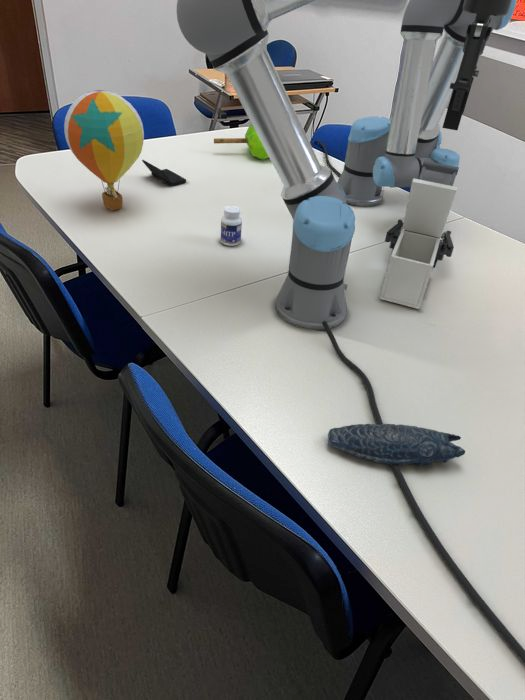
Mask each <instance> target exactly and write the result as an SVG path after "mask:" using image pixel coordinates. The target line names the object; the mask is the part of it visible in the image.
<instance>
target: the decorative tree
mask: <svg viewBox="0 0 525 700" xmlns="http://www.w3.org/2000/svg"><path fill="white" fill-rule="evenodd" d="M213 144H246V145H247V147H248V149H249V151H250V153H251V155H252V156H253V157H255V158H258V160H259V159H260V160H263V161H264V160H266V159H268V158H269V156H268V154H267V152H266V150H265V148H264V146H263V144H262V142H261V140H260V139H259V137H258V135H257V133H256V131H255V129H254V127H253V125H252V124H251V125H249V126H248V128H247V130H246V132H245V134H244V137H243V138H242V137H237V138H235V137H234V138H233V137H231V138H230V137H227V138H226V137H225V138H223V137H222V138H213ZM269 159H270V158H269Z"/></svg>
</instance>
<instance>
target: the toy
mask: <svg viewBox="0 0 525 700" xmlns="http://www.w3.org/2000/svg"><path fill="white" fill-rule="evenodd" d="M63 128H64V130H63V131H64V132H63V133H64V137H65V141H66V144H67V146H68V148H69V150H70V151H71V152H72V154H73V156H75V158H76V159H77V161H78V162H80V163H81V165H83V166H84V167H85V168H86V169H87V170H88V171H90V172H91V173H92V174H93V175H94V176H96V177H97V178H98V179H100V180H101V183H102V184H101V185H102V187H103V191H102V193H101V198H102V203H103V205H104V207H105V208H106V209H108V210H109V211H110V212H113V211H118V210H121V209H122V208H123V203H124V201H123V195H122V194H121V193H120V192H119V191H118V190H119V188H120V183H118V182H120V181H121V178H122V177H123V176H124V175H125V174H126V173H127V172H128V171H129V170H130V169H131V167H133V165H134V164H135V163H136V161H137V160H138V159H139V158H140V155H141V153H142V150H143V147H144V141H145V131H144V130H145V129H144V125H143V121H142V119H141V116H140V114H139V113H138V111H137V109H136V108H134V106H133V105H132V103H130V102H129V101H128V100H127V99H126V98H124V97H123V96H122V95H119V94H117V93H115V92H112V91H109V90H102V89H101V90H100V89H98V90H92V91H87V92H85V93H82V95H79V96H78V97H77V98H76V99H75V100H73V102H72V103H71V105H70V107H69V108H68V111H67V112H66V114H65V118H64V124H63ZM104 183H105V184H106V185H107V186H106V187H105V186H104ZM115 183H118V185H117V190H116V188H115Z"/></svg>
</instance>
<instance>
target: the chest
mask: <svg viewBox="0 0 525 700" xmlns="http://www.w3.org/2000/svg"><path fill="white" fill-rule="evenodd" d="M400 232H401V233H400V236H399V238H398V240H397V243H396V245H395V247H394V250H393V249H392V250H393V252H392V251H391V253H392V254H391V253H390V257H389V261H388V264H387V268H386V273H385V276H384V279H383V284H382V287H381V293H380V295H379V300H382V301H386V302H389V303H394V304H398V305H401V306H404V307H405V306H406V307H409V308H413V309H417V310H420V309H421V306H422V304H423V299H424V296H425V293H426V290H427V287H428V283H429V281H430V278H431V274H432V271H433V269H434V268H433V265H434V261H435V257H436V254H437V250H438V246H439V242H440V239H441V238H440V239H439V238H435V237H430V236H426V235H422V234H417V233H413V232H408V231H404V230H402V231H400Z"/></svg>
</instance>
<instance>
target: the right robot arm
mask: <svg viewBox="0 0 525 700" xmlns="http://www.w3.org/2000/svg"><path fill="white" fill-rule="evenodd" d="M517 1H518V0H512V2H511V5H510V8H509V11H508V13H507V14H506V15H505V16H493V15H491V16H490V17H491V19H490V20H491V21H490V23H489V25H488V27H492V30H491V33H490V36H489V38H490V37H491V35H492V33H493V31H494V30H495V31H500V30H502V29H503V28H505V27H506V26H507V25H508V24H509V23H510V21H511V19H512V17H513V15H514V12H515V9H516V6H517ZM463 4H464V0H408V2H407V5H406V7H405V10H404V13H403V16H402V20H401V26H400V35H401V37H402V39H403V41H402V47H401V53H400V60H399V66H398V73H397V79H396V86H395V92H394V98H393V104H392V110H391V115H390V118H388V117H384V116H380V117H379V116H374V115H373V116H365V117H361V118H357V120H355V121H354V122H353V123H352V124H351V125H350V131H349V135H348V136H347V137H348V138H347V140H348V141H347V147H346V152H345V158H344V165H343V170H342V172H339V170H337V169H336V168H335V167H334V166H333V164H331V162H330V160H329V156H328V155H329V154H328V151H327V147H326V146H325V145H324V144H323V143H322V142H321V140H319V139H316V140H315V141H313V144H319V145H320V146H321V147H322V149H323V150H324V151H323V152H324V157H325V161H326V164H327V165H328V167H329V168H330V170H331V171H333V172H334V173H335V174H336V175H337V176H338V177H339V178H338V180H337V181H336V182H337V183H338V184H339V185H340V187H341V188H342V189H343V191H344V193H345V195H346V199H347V204H348V205H349V206H354V207H355V206H356V207H374V206H378V205H379V204H381V202H382V200H383V196H384V193H385V189H383V187H384V188H385V187H386V188H391V189H393V188H411V185H412V181H413V178H414V179H419V176H420V173H421V170H422V165H423V162H424V161H428V162H433V163H439V164H444V165H449V166H454V167H459V166H460V165H459V164H460V160H461V157H460V155H459V153H457V152H456V151H454V150H452V149H449V148H441V144H442V141H443V140H442V139H443V138H442V131H441V125H440V123H439V122H440V121H441V119H442V117H443V115H444V113H445V111H446V109H447V108H448V106H449V102H450V98H451V95H452V91H453V89H449V88H450V84H451V83H454V82H455V81H456V79H457V75H458V72H459V68H460V65H461V62H462V58H463V55H464V53H463V47H464V43H465V40H466V37H465V36H466V32H467V28H468V26H469V24H472V23H473V22H474V21H475V18H476V13H469V12H465V11H464V10H463ZM443 34H444V35H443ZM441 37H442V39H441V41H440V44H439V46H438V49H437V51H436V46H437V41H438V40H439V39H440V38H441ZM487 42H488V41H486V43H487ZM435 51H436V53H435ZM451 178H452V175H451V174H446V173H441V172H436V171H431V170H426V169H425V172H424V175H423V178H422V180H424V181H429V182H434V183H439V184H444V185H450V182H451ZM403 222H404V220H402V219H398V220H397V223H396V224H394V225H393V226H392V227H391V228H389V229H388V230H387V231H386V234H385V238H384V242H385V243H389V246H388V247H389V249H392V250H391V253H390V255H391V254H392V252H393V250H394V247H395V245H396V243H397V240H398V238H399V236H400V233H401V231H402V230H403V229H402V227H403ZM404 231H408V230H404ZM408 232H412V231H408ZM413 233H416V232H413ZM417 234H421V233H417ZM422 235H425V234H422ZM451 235H452V231H451V230H446V231H443V233H442V236H441V238H439V239H440V242H439V246H438V250H437V254H436V257H435V261H434V265H433V268H432V269H436V266H437V263H438V261H443V259H444V258H445V257H444V256H446V257H448V258H450V257H452V255H453V252H454V248H455V246H454V243H453V240H452V237H451ZM426 236H430V235H426ZM430 237H434V236H430ZM435 238H438V237H435Z"/></svg>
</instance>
